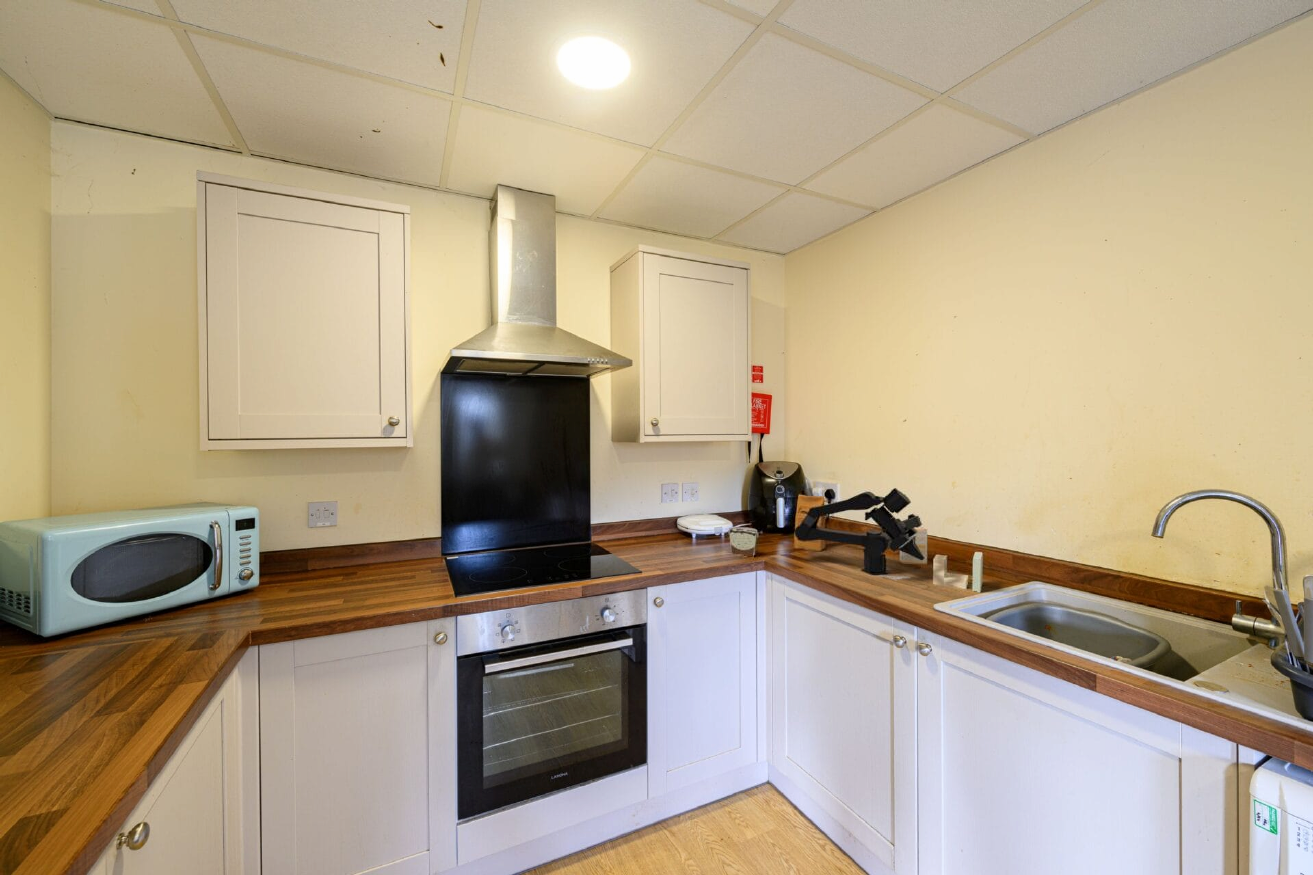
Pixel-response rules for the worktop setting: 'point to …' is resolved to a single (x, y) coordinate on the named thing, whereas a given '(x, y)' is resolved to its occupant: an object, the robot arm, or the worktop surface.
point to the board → (977, 571)
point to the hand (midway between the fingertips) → (923, 559)
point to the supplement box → (922, 545)
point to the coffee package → (802, 511)
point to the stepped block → (947, 574)
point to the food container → (743, 540)
